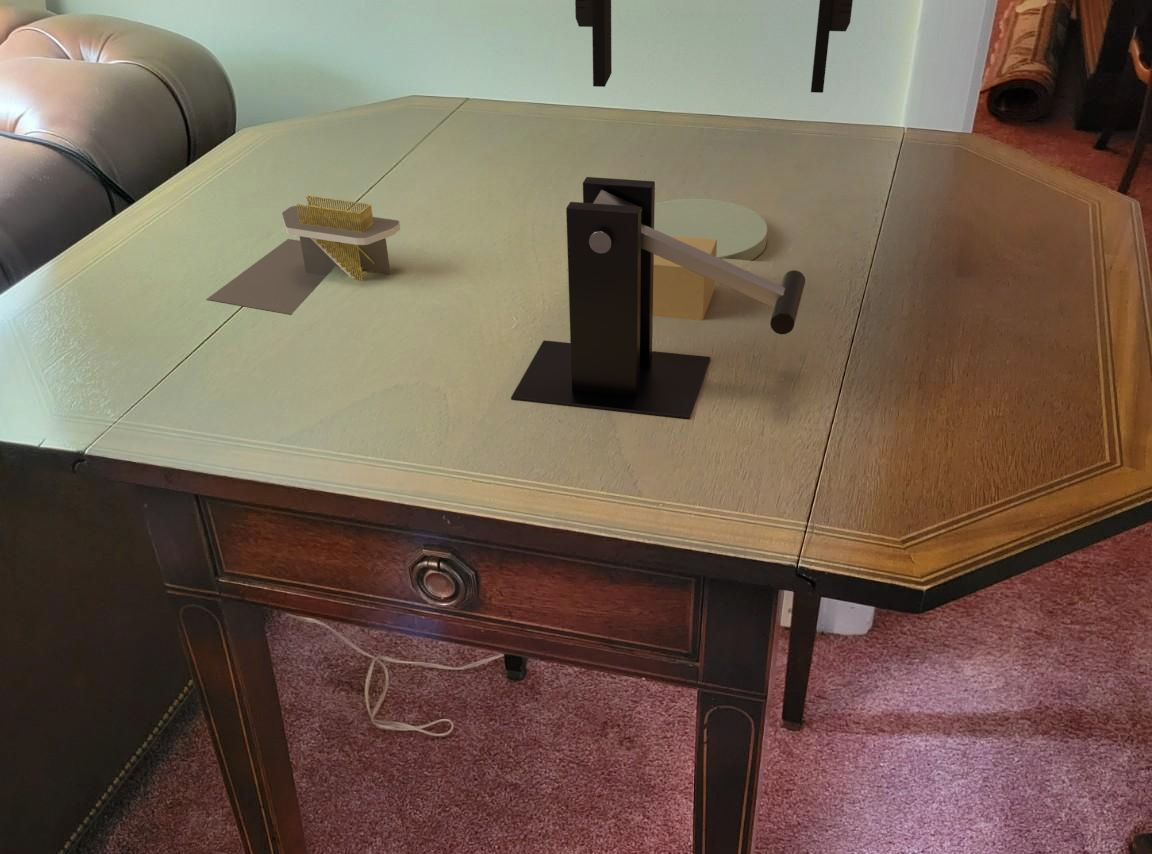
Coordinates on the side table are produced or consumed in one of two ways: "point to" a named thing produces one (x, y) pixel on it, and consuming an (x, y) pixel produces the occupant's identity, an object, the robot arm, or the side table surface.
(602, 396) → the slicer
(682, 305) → the cake slice
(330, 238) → the platform
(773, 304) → the blade
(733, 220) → the plate
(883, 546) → the side table surface
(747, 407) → the side table surface
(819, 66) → the robot arm
